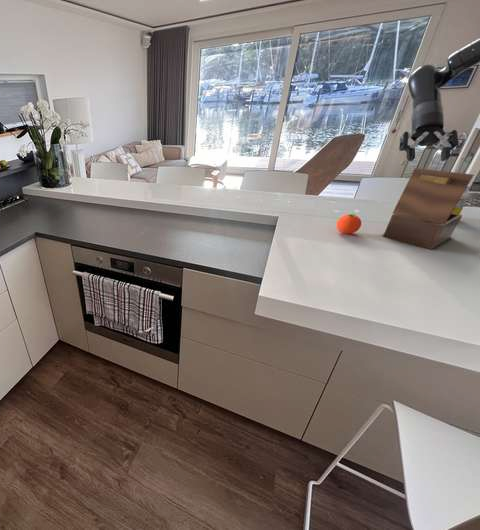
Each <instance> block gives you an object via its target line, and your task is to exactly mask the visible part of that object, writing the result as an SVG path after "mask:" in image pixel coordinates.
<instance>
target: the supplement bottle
mask: <svg viewBox="0 0 480 530" xmlns="http://www.w3.org/2000/svg"><path fill="white" fill-rule="evenodd" d="M470 188H471V184H470V183H469V184H468V186H467V187H466V189H465V191H464V193H463V194H462V196H461V198H460V199H459V201H458V203H457V205H456V206H455V208H454V210H453V211H452V213H453V214H458V215H461V212H462V211H463V209H464V207H465V205H466V203H467V201H468V200H469V198H470V195H471V194H470V192H468V190H469V189H470Z"/></svg>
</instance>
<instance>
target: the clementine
mask: <svg viewBox="0 0 480 530" xmlns="http://www.w3.org/2000/svg"><path fill="white" fill-rule="evenodd" d="M361 227H362V220H361V218H360V217H359V216H358V215H356V214H355V213H347V214H344V215H342V216H340V217H339V218H338V220H337V221H336V229H337V230H338V231H339V232H340V233H342V234H344V235H351V234H354V233H356V232H358V231H359V230H360V229H361Z"/></svg>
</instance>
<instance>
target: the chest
mask: <svg viewBox="0 0 480 530" xmlns="http://www.w3.org/2000/svg"><path fill="white" fill-rule="evenodd" d="M462 217H463V215H462V214H459V215H458V214H453V213H451V215H450V217H449V218H448V220H447V222H446V223H445V225H443V224H438V223H432V222H427V221H422V220H418V219H416V218H411V217H406V216H402V215H397V214H393V213H392V214H391V216H390V219H389V221H388V224H387V226H386V229H385V231H384V233H383V237H386V238H390V239H392V240H397V241H400V242H405V243H407V244H411V245H415V246H418V247H422V248H426V249H430V250H432V249H434V248H435V247H437V246H439V245H441V244H442V243H444V242H446V241H447V240H449V239H451V237H452V235H453V233H454V231H455V230H456V228H457V226H458V225H459V223H460V221H461V219H462Z"/></svg>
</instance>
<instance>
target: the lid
mask: <svg viewBox="0 0 480 530" xmlns="http://www.w3.org/2000/svg"><path fill="white" fill-rule="evenodd" d="M474 176H475V175H474V174H473V173H464V172H463V173H462V172H453V171H446V170H445V171H444V170H436V169H426V168H417V167H414V169H413V170H412V173H411V174H410V177H409V179H408V180H407V183H406V185H405V187H404V189H403V191H402V193H401V195H400V197H399V199H398V201H397V202H396V206H395V207H394V209H393V211H392V215H393V214H397V215H402V216H406V217H411V218H416V219H420V220H425V221H429V222H434V223H438V224H443V225H445V223H446V222H447V220H448V218H449V217H450V215H451V213H452V211H453V210H454V208H455V206H456V205H457V203H458V201H459V199H460V198H461V196H462V194H463V193H464V191H465V189H466V187H467V186H468V184H469V185H470V183H471V181H472V180H473V177H474Z"/></svg>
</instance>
